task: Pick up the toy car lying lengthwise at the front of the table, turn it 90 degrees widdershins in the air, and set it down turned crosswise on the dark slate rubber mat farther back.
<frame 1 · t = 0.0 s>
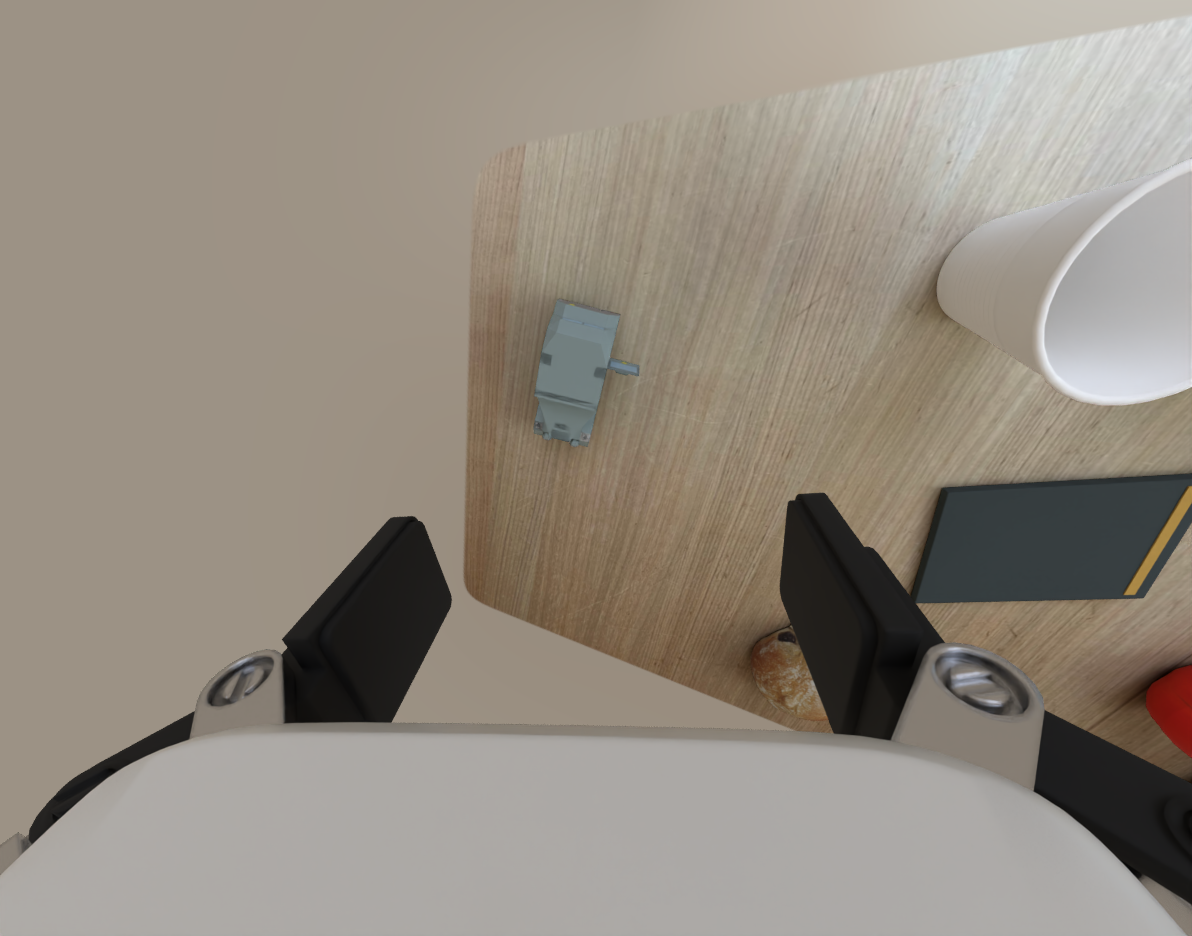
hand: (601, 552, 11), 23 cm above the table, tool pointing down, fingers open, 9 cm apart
bread roll: (799, 654, 45), on the table
toy car: (591, 374, 33), on the table
tomato: (1183, 678, 42), on the table
mat: (1042, 541, 36), on the table
cup: (984, 271, 27), on the table
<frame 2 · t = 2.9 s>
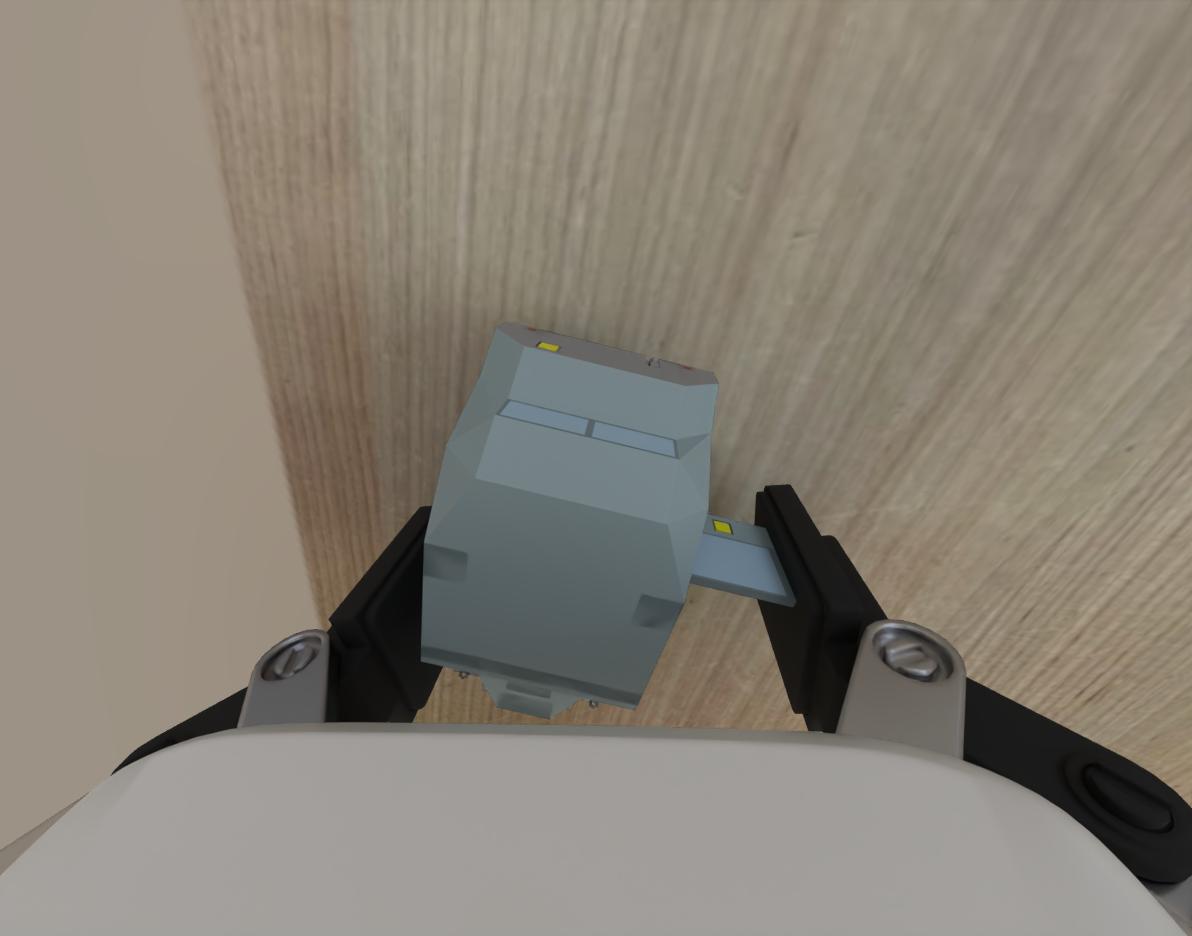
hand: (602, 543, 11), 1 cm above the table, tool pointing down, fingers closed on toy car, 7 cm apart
toy car: (609, 514, 12), on the table, touching gripper
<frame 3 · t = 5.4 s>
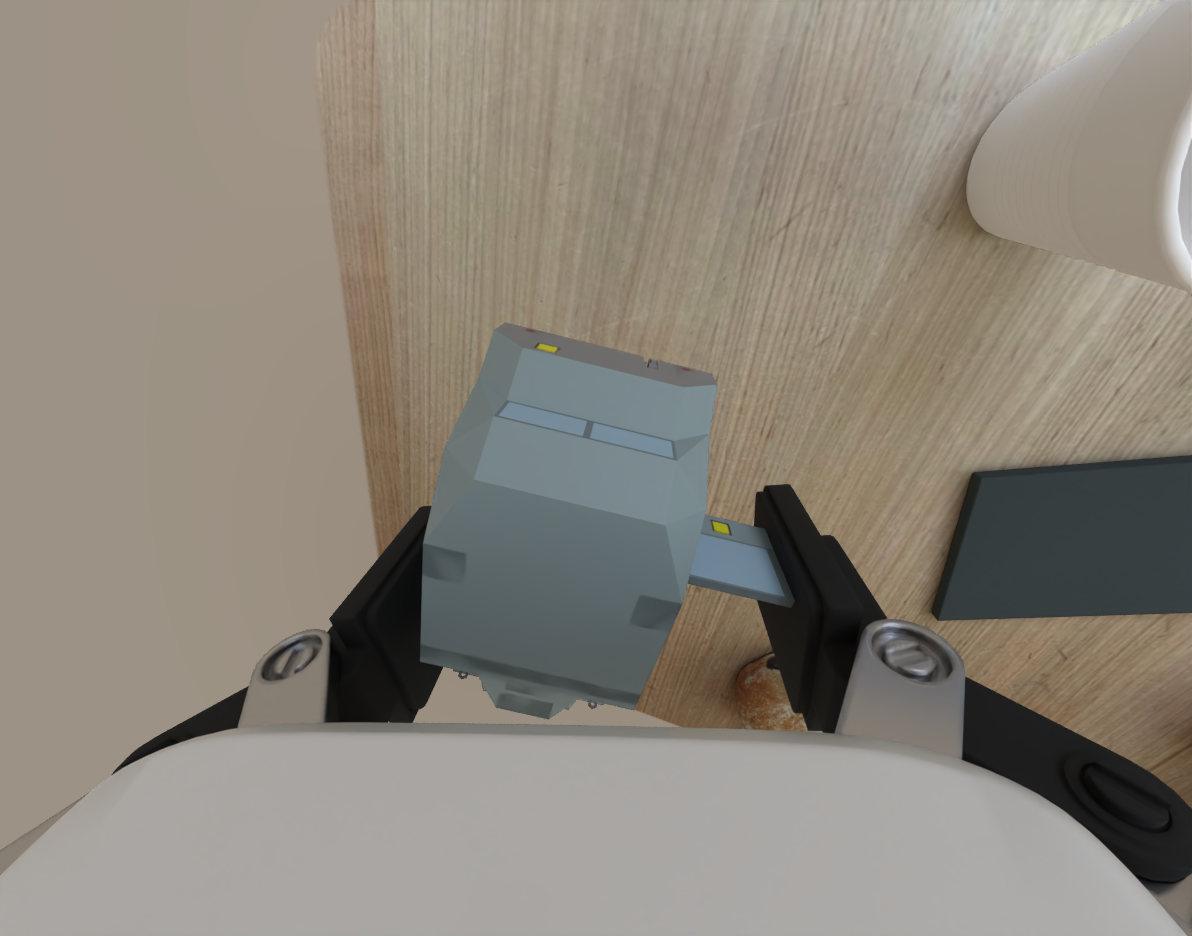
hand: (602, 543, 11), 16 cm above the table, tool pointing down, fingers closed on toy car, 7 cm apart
bread roll: (795, 681, 37), on the table
toy car: (608, 514, 12), point 15 cm above the table, touching gripper
mat: (1104, 540, 27), on the table
cup: (1035, 160, 19), on the table
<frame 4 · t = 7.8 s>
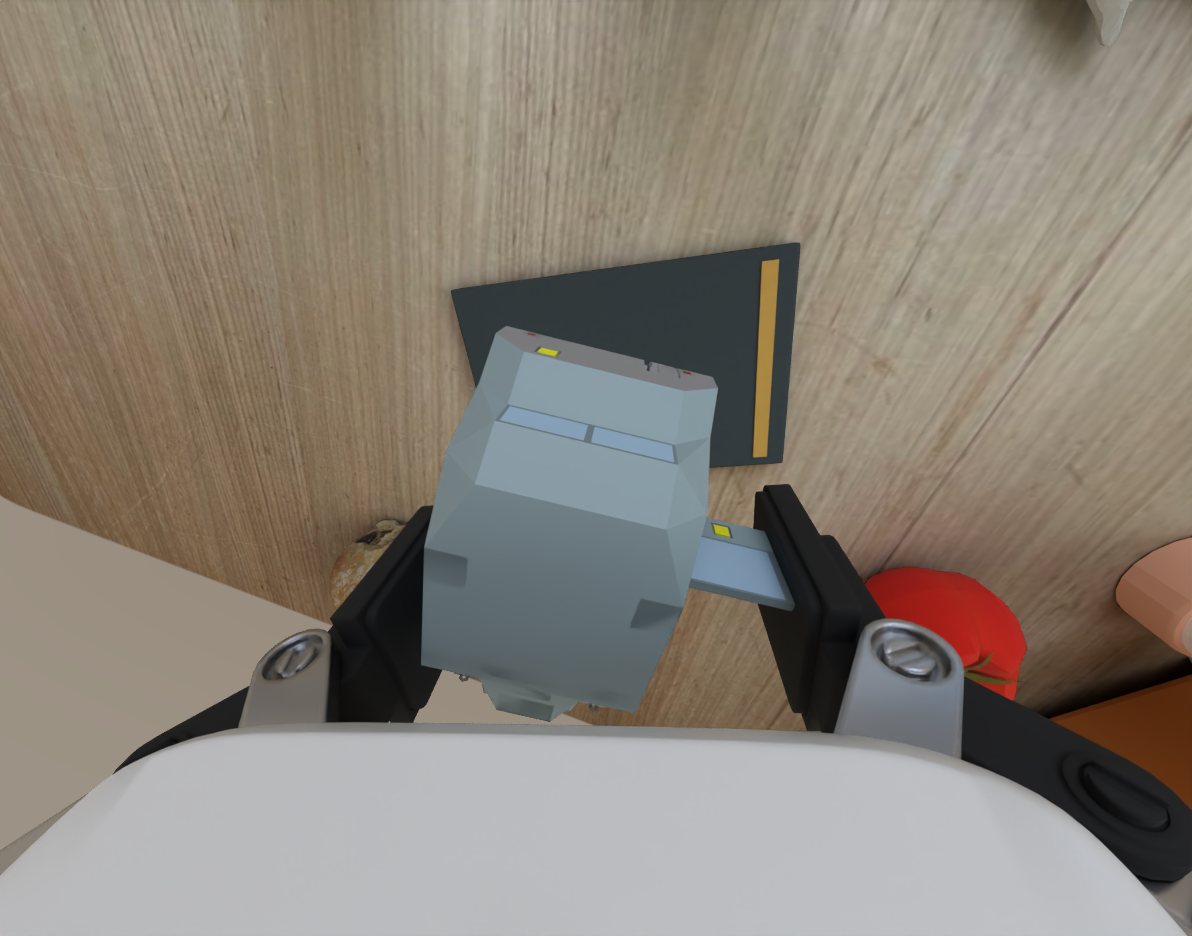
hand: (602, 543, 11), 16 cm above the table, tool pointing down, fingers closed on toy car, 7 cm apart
toaster: (1088, 715, 35), on the table
pepper shaker: (1179, 576, 28), on the table
bread roll: (420, 568, 34), on the table
toy car: (609, 516, 12), point 15 cm above the table, touching gripper
tomato: (896, 594, 31), on the table
mat: (626, 378, 25), on the table
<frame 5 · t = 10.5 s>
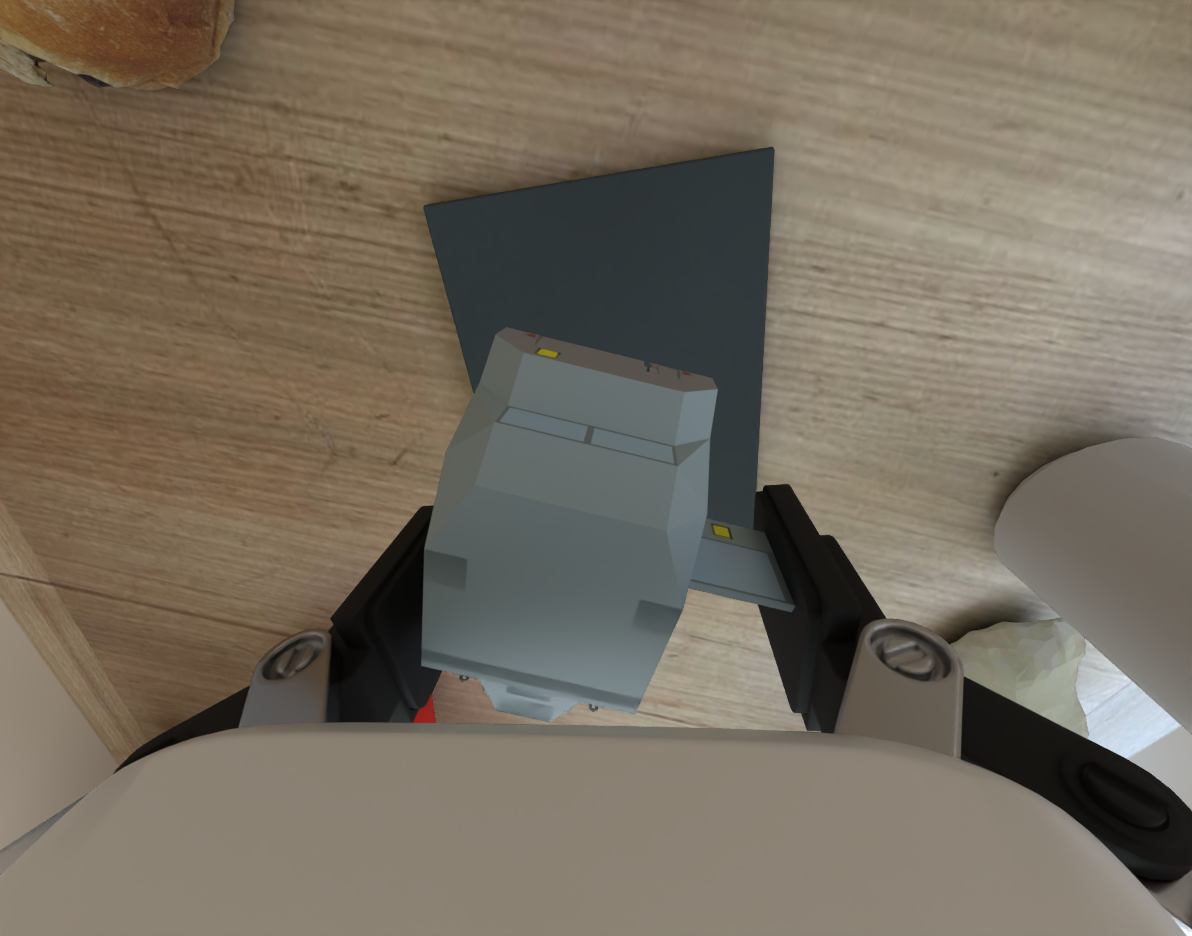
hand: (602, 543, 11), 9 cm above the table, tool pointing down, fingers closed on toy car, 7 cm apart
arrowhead: (948, 686, 26), on the table
can: (1071, 502, 19), on the table
toy car: (609, 517, 12), point 8 cm above the table, touching gripper
tomato: (391, 675, 30), on the table
mat: (617, 418, 19), on the table
when the fingers open (2 cm above the table, at t = 12.8 s): toy car stays where it is, resting on mat.
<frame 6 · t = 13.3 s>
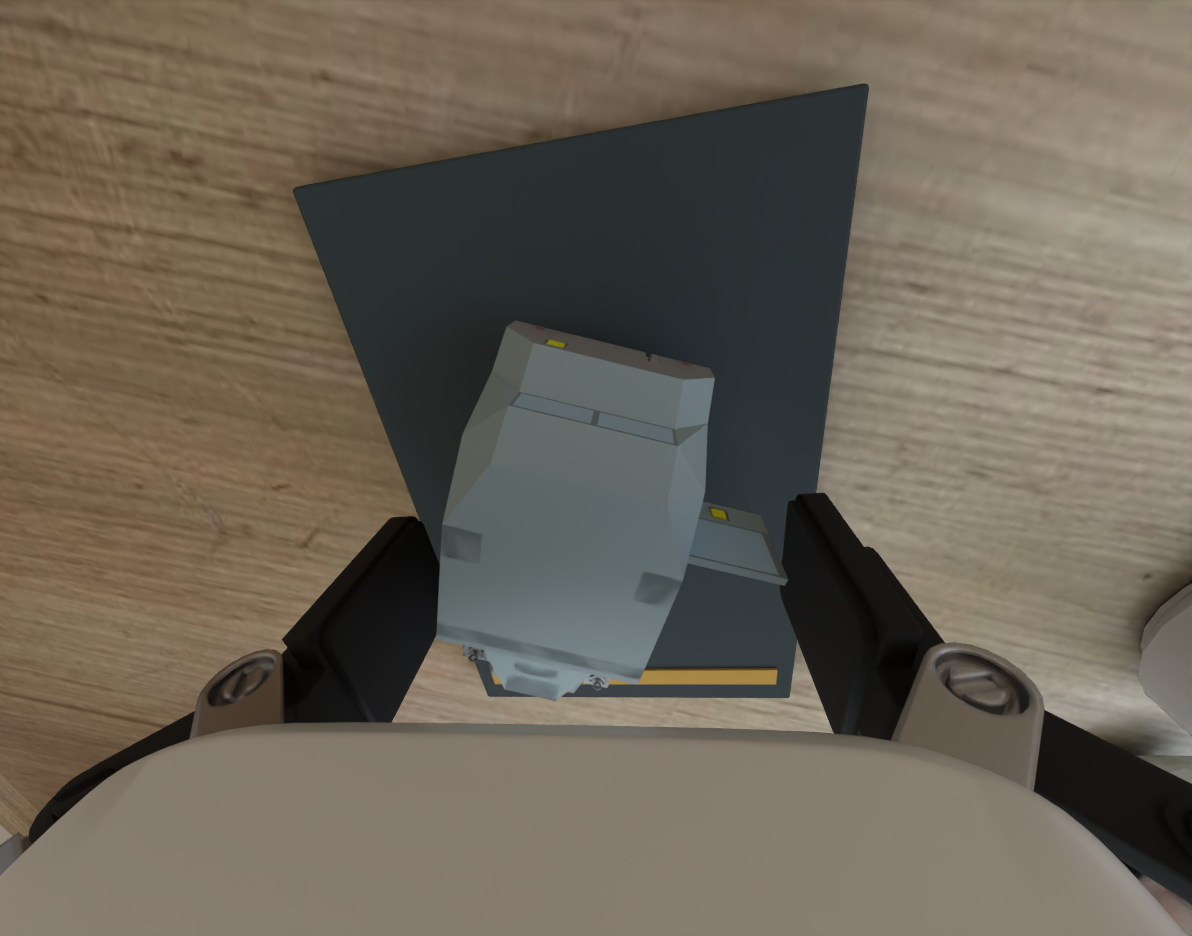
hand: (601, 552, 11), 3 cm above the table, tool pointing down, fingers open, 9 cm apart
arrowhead: (1035, 814, 20), on the table
toy car: (611, 505, 13), point 1 cm above the table, touching mat
mat: (606, 495, 13), on the table
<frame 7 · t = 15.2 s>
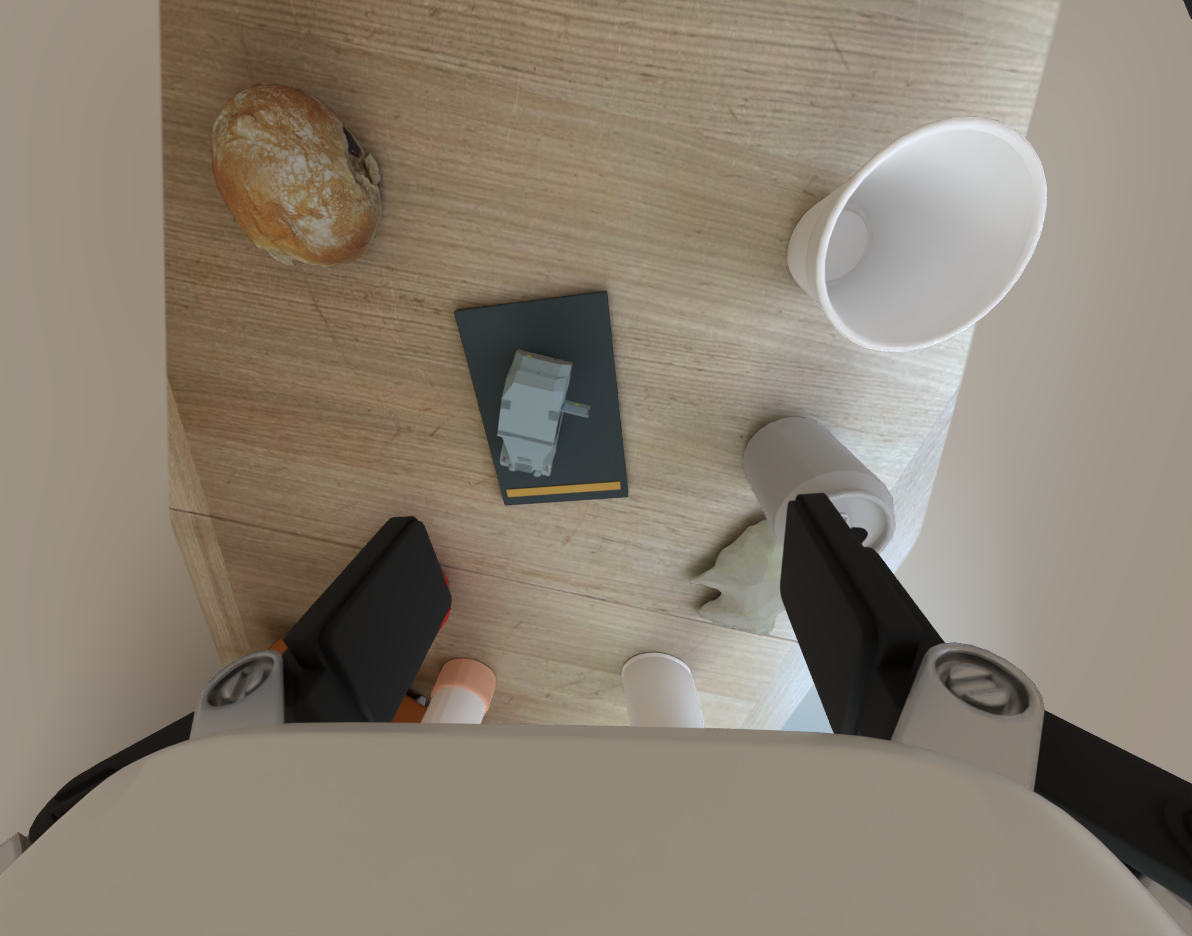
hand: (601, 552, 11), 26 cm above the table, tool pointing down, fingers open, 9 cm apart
toaster: (362, 677, 57), on the table
pepper shaker: (469, 675, 55), on the table
bread roll: (319, 192, 31), on the table
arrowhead: (753, 567, 44), on the table
can: (783, 452, 38), on the table
toy car: (551, 411, 37), point 1 cm above the table, touching mat
mat: (550, 409, 37), on the table
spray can: (664, 682, 53), on the table
cup: (830, 246, 30), on the table
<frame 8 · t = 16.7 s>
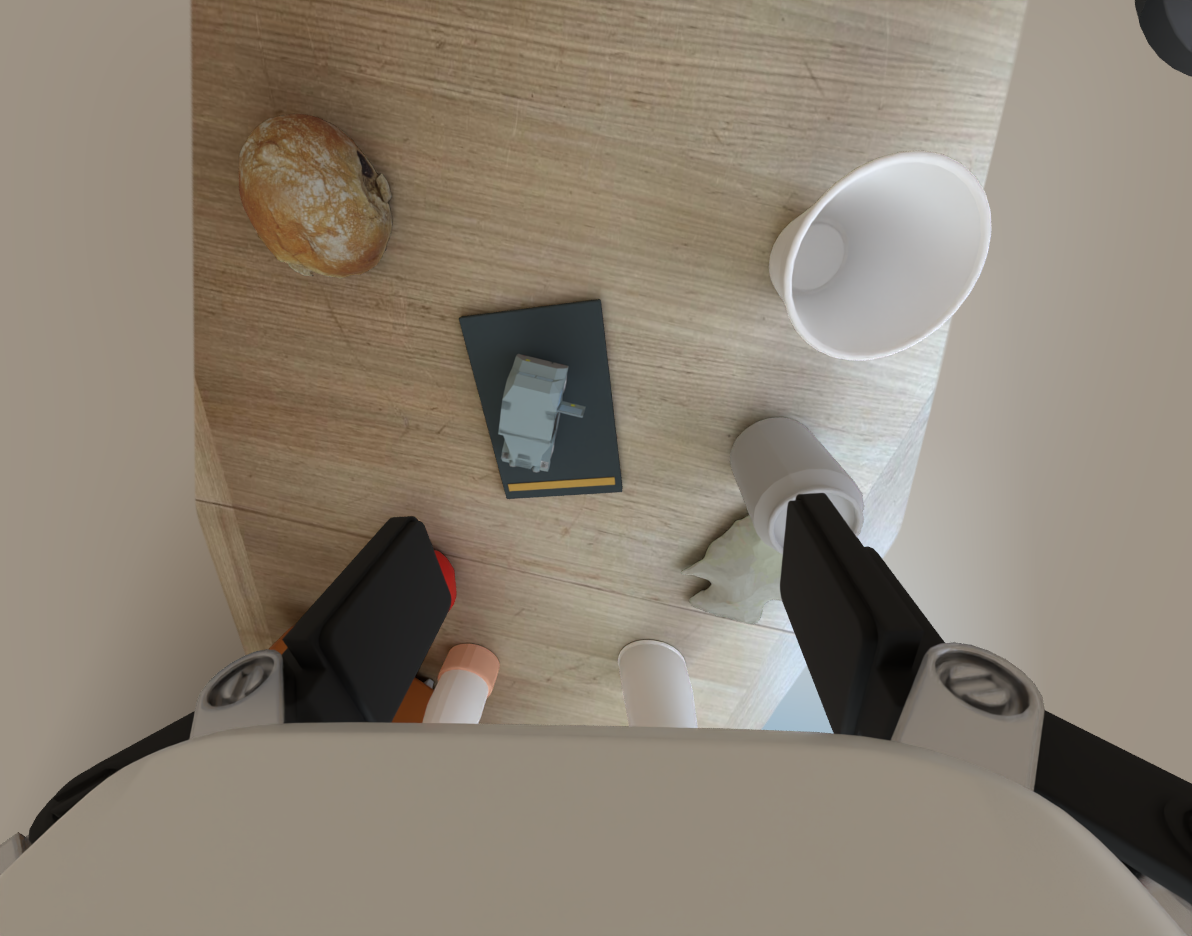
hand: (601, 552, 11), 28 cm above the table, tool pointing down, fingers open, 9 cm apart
toaster: (374, 660, 61), on the table
pepper shaker: (474, 660, 58), on the table
bread roll: (335, 208, 33), on the table
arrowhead: (742, 559, 46), on the table
can: (768, 450, 40), on the table
toy car: (549, 411, 39), point 1 cm above the table, touching mat
tomato: (429, 564, 51), on the table
mat: (548, 409, 40), on the table
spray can: (658, 669, 56), on the table
cup: (809, 257, 32), on the table
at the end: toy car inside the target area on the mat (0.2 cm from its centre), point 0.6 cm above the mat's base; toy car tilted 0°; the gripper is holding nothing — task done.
